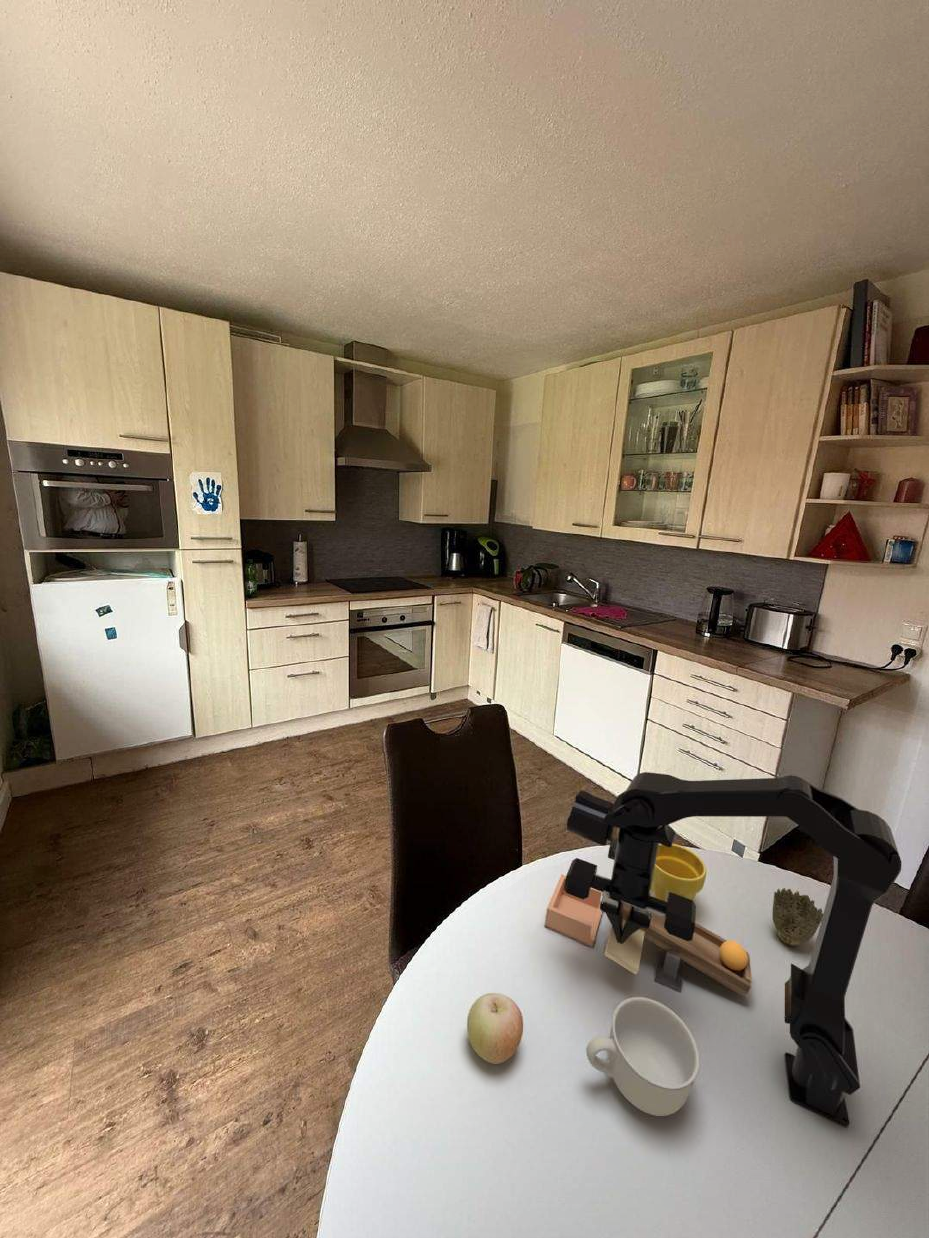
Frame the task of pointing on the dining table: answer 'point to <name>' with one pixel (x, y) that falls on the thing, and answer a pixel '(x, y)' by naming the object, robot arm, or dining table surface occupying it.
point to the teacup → (648, 1056)
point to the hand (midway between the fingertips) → (620, 941)
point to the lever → (680, 952)
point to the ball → (733, 955)
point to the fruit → (495, 1027)
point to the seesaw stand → (669, 969)
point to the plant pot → (677, 872)
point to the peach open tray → (574, 914)
